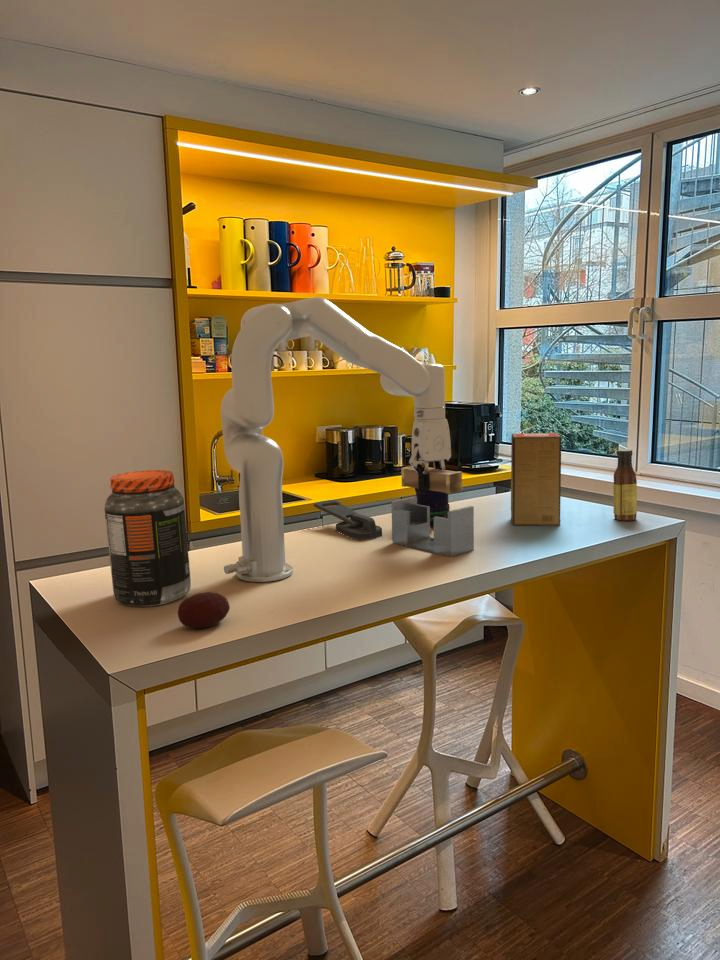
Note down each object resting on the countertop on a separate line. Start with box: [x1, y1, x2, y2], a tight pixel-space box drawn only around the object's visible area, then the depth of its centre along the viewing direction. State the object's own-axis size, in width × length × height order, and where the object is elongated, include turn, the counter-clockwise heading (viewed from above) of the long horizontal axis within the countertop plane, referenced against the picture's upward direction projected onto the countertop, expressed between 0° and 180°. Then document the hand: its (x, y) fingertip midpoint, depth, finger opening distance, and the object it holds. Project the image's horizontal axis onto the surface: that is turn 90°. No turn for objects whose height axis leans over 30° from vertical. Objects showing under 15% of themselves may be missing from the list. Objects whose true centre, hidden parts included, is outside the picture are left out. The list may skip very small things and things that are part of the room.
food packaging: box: [510, 432, 562, 527], centre depth 207 cm, size 13×9×25 cm
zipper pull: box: [313, 499, 383, 541], centre depth 206 cm, size 9×7×25 cm
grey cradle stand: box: [390, 495, 475, 558], centre depth 186 cm, size 8×20×11 cm, turn 42°
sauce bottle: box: [612, 448, 638, 522], centre depth 208 cm, size 6×6×20 cm
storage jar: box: [414, 488, 451, 528], centre depth 210 cm, size 10×10×15 cm
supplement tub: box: [104, 469, 192, 607], centre depth 152 cm, size 16×16×26 cm
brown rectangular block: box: [400, 465, 463, 495], centre depth 183 cm, size 5×16×5 cm, turn 42°
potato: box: [177, 591, 231, 629], centre depth 136 cm, size 7×10×6 cm
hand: (431, 486), depth 184 cm, fingers closed on brown rectangular block, 4 cm apart
